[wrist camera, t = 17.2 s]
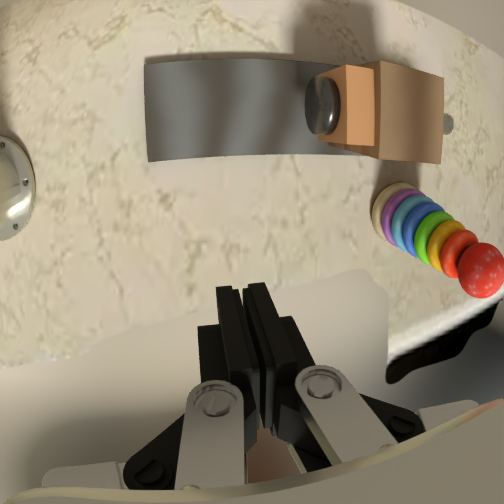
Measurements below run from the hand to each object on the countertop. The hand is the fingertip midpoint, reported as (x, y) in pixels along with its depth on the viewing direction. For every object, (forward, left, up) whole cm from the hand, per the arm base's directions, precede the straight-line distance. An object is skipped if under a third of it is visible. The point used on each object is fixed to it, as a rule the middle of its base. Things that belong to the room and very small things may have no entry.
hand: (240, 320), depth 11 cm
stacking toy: (+23, -4, -23) cm, 33 cm away
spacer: (+11, +8, -19) cm, 23 cm away
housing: (+7, +8, -23) cm, 25 cm away
